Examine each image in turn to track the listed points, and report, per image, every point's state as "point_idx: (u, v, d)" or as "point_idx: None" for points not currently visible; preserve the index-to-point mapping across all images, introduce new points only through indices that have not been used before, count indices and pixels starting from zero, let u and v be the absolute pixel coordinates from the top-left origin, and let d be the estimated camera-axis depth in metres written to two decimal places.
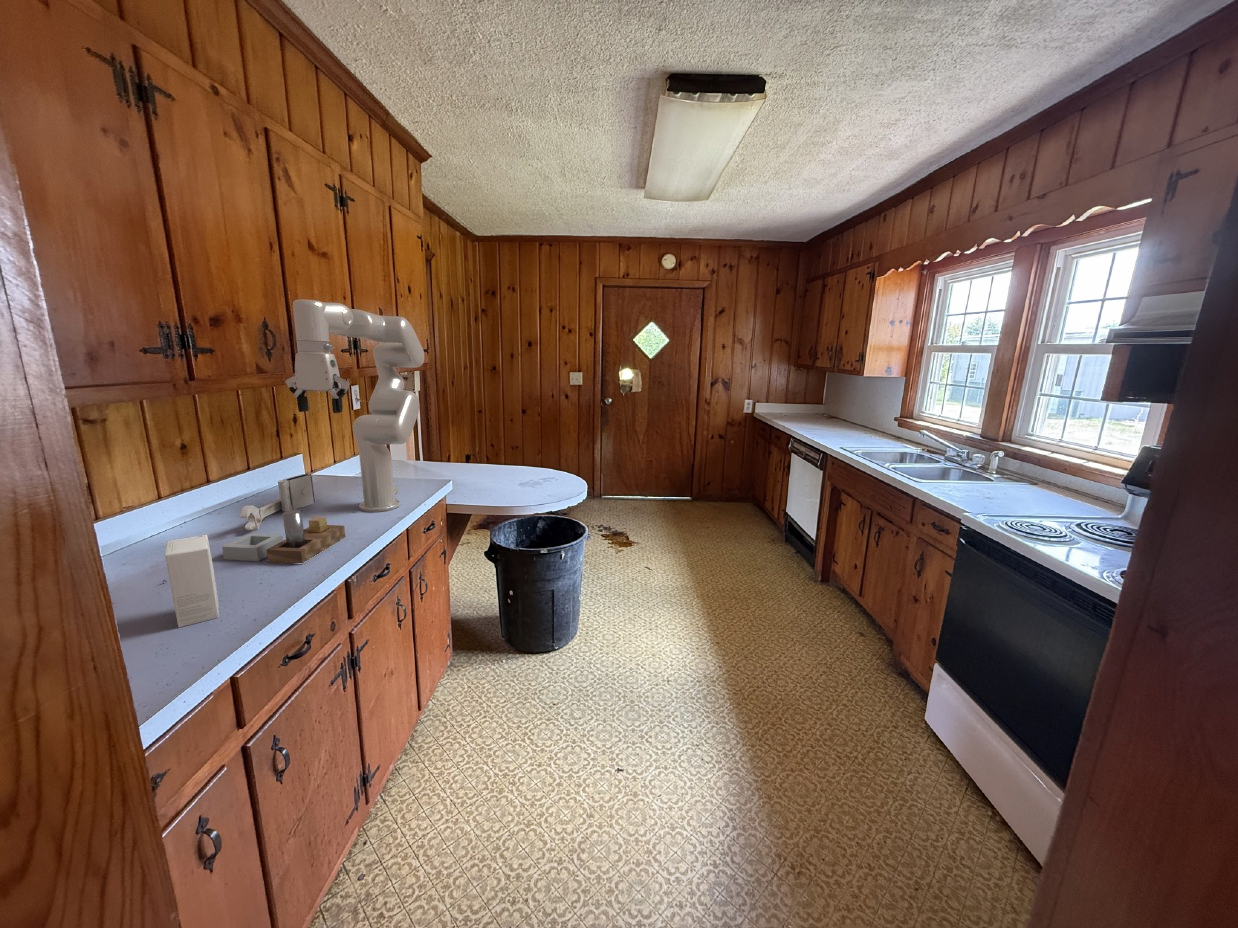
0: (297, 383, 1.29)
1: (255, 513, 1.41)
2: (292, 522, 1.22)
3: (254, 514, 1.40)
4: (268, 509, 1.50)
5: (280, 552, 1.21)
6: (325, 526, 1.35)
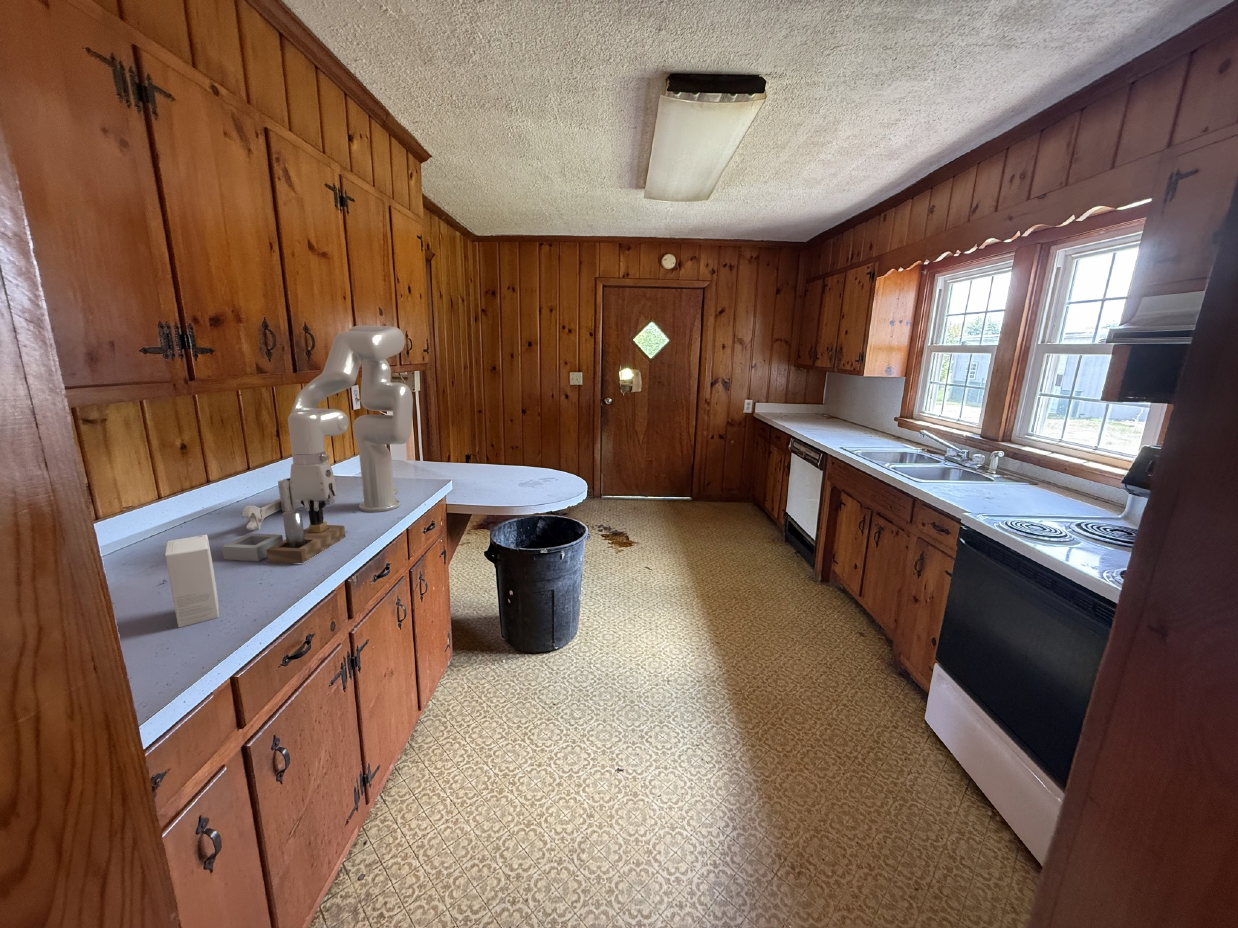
0: (293, 493, 1.29)
1: (256, 513, 1.41)
2: (292, 522, 1.22)
3: (255, 514, 1.41)
4: (269, 509, 1.50)
5: (280, 552, 1.21)
6: (325, 530, 1.35)
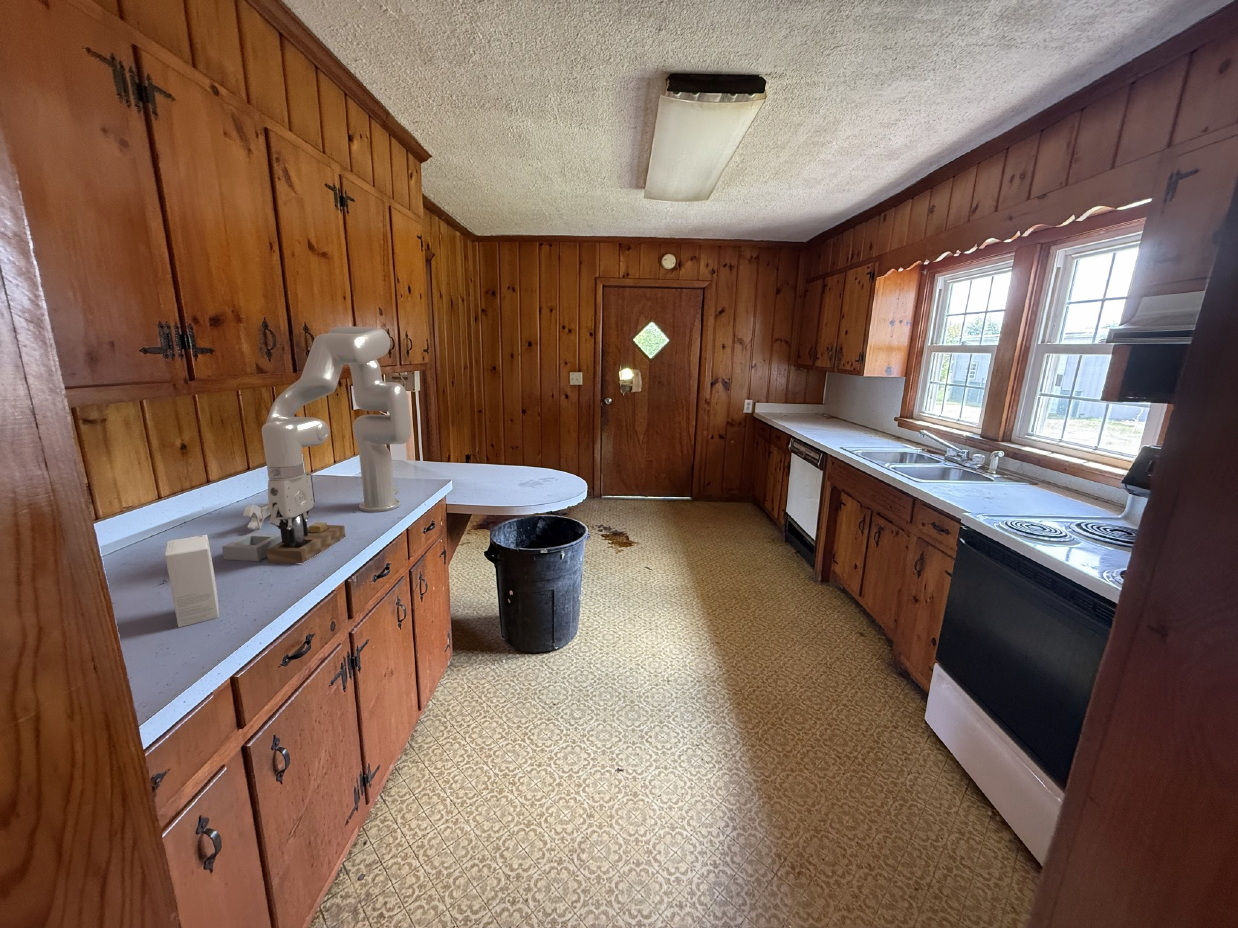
0: None
1: (257, 512, 1.42)
2: (292, 522, 1.22)
3: (256, 513, 1.41)
4: None
5: (280, 552, 1.21)
6: None
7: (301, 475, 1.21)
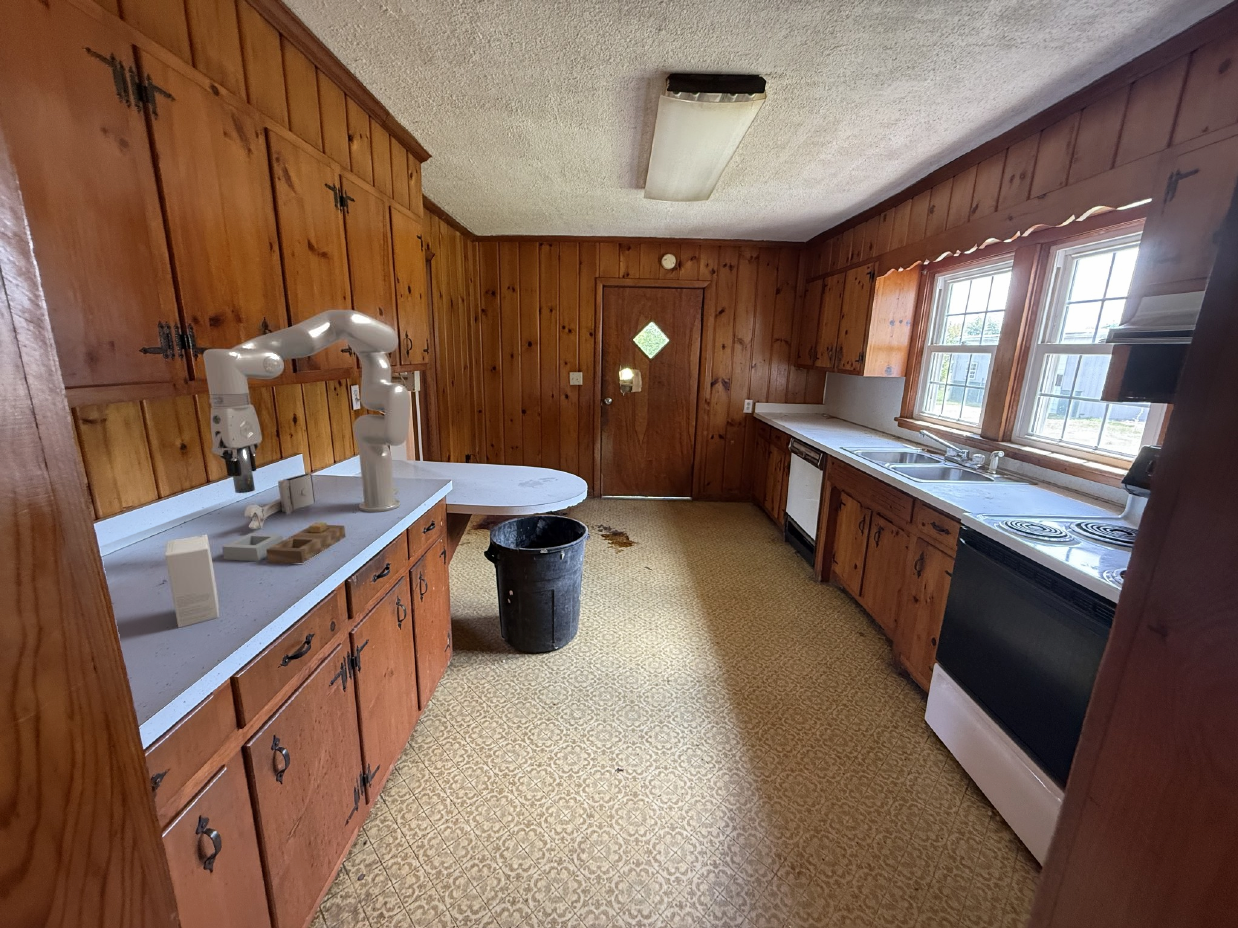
0: None
1: (258, 512, 1.42)
2: (237, 454, 1.19)
3: (258, 513, 1.41)
4: (270, 508, 1.51)
5: (280, 552, 1.21)
6: None
7: (246, 405, 1.18)
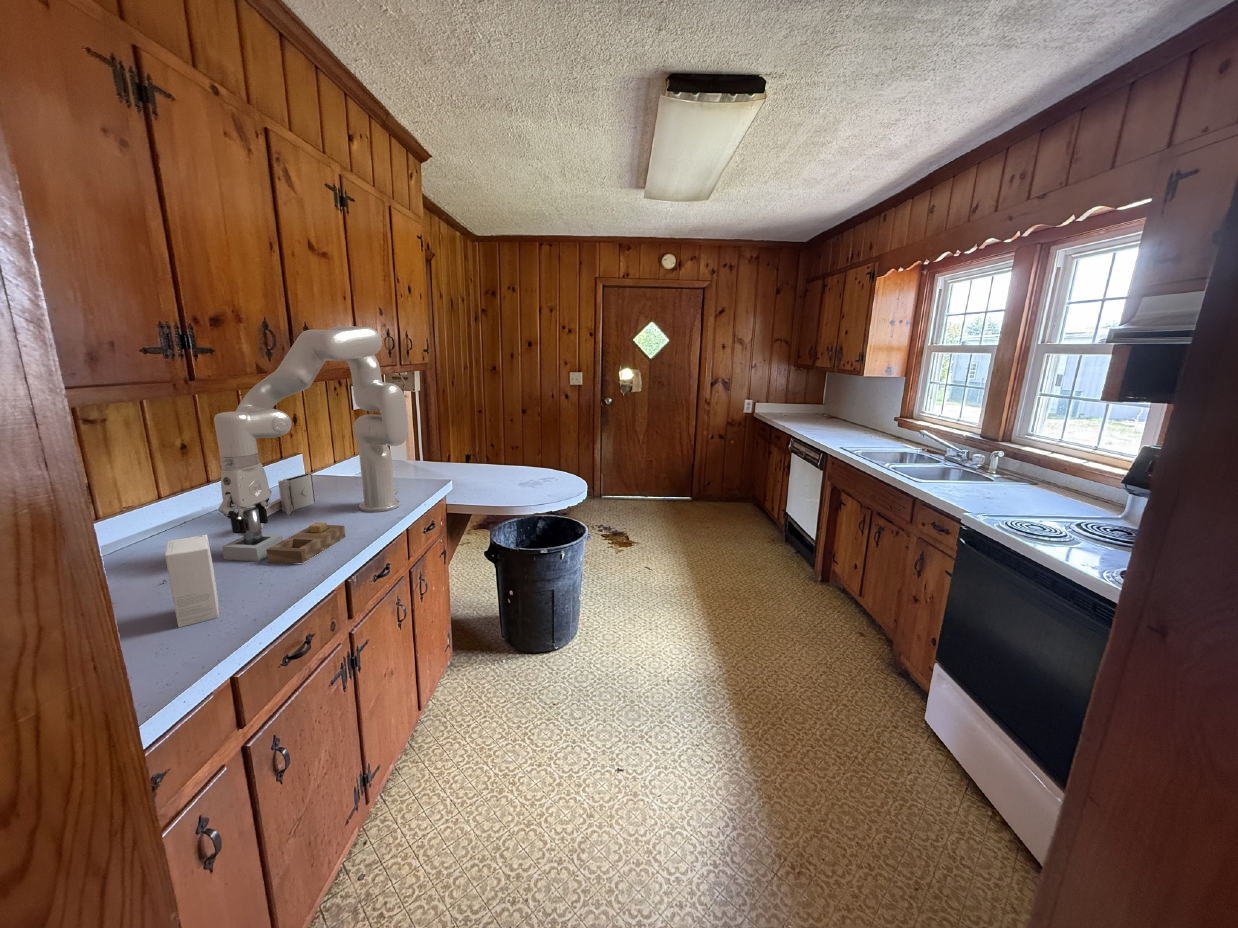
0: None
1: None
2: (248, 519, 1.23)
3: None
4: (271, 508, 1.51)
5: (280, 552, 1.21)
6: None
7: (255, 465, 1.22)
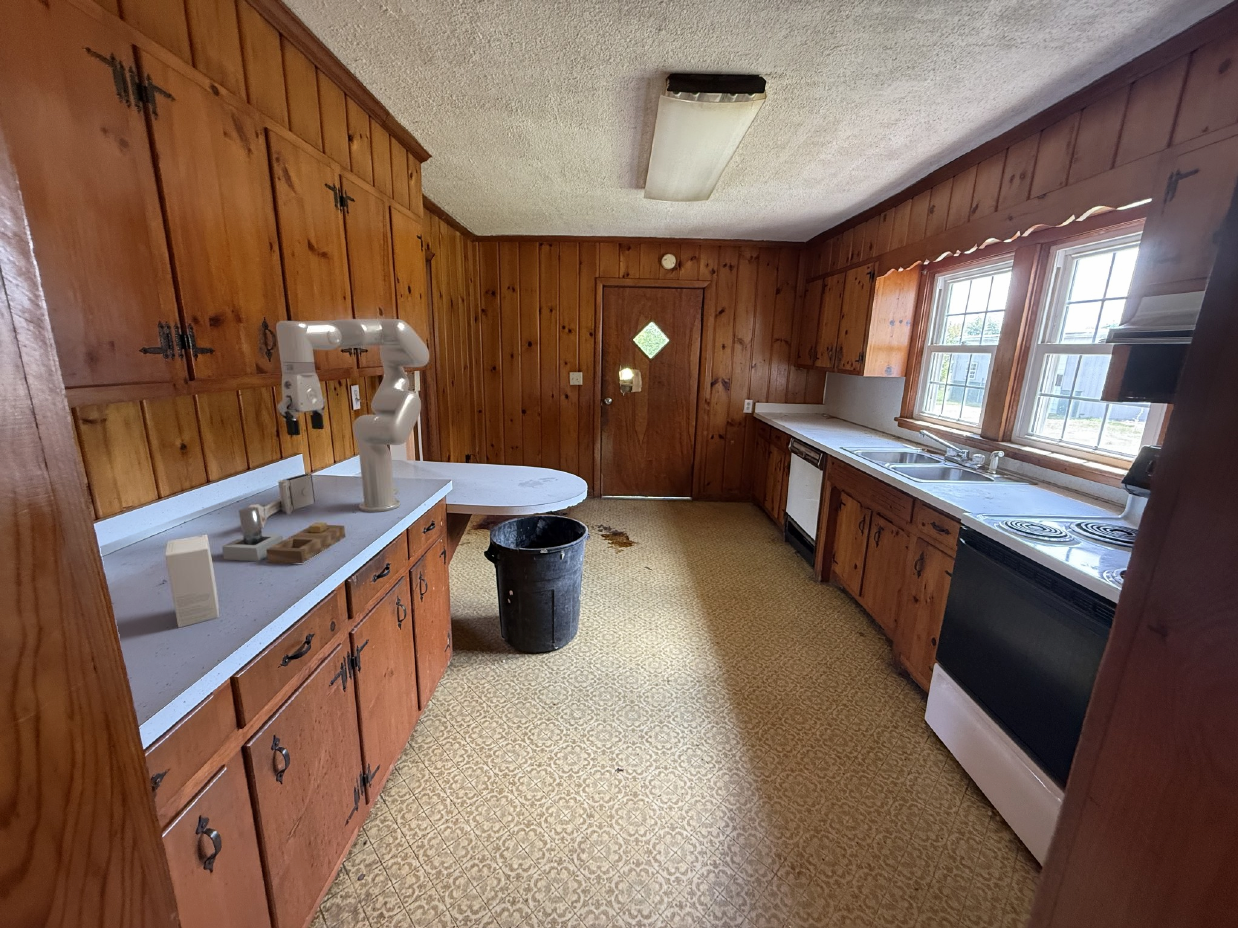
0: None
1: (260, 512, 1.42)
2: (248, 519, 1.23)
3: (259, 513, 1.42)
4: (271, 508, 1.51)
5: (280, 552, 1.21)
6: None
7: (312, 373, 1.29)
